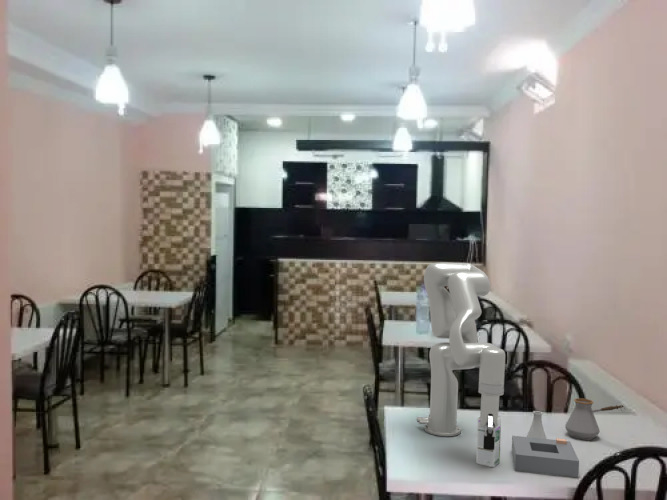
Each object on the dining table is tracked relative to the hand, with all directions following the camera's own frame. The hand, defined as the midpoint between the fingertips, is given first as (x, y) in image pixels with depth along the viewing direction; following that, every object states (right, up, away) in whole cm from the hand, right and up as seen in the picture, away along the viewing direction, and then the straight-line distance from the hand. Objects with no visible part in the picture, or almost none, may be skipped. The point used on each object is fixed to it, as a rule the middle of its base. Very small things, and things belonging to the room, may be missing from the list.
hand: (488, 444), depth 199 cm
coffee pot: (+43, -7, +26) cm, 51 cm away
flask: (+22, -6, +23) cm, 32 cm away
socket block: (+17, -6, +2) cm, 19 cm away
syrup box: (0, -6, 0) cm, 6 cm away
